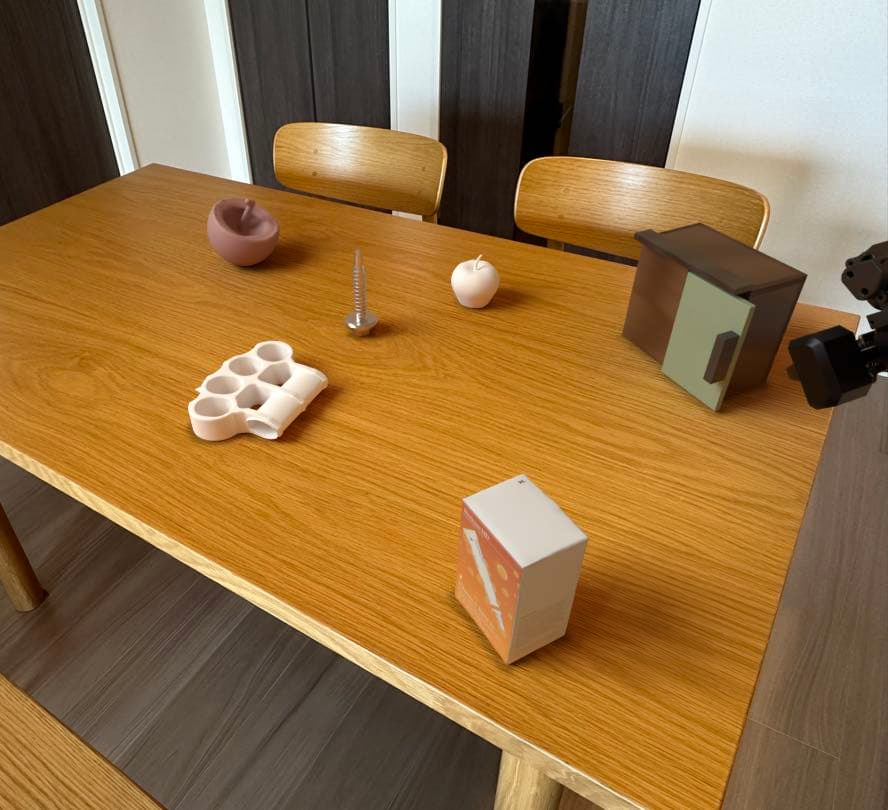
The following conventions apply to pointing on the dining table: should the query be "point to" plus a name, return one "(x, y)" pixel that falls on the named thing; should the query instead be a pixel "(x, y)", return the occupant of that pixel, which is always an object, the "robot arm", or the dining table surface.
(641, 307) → the cupboard
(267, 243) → the mortar and pestle
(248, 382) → the white brass knuckles
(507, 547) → the small box
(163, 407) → the dining table surface
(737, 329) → the sliding door
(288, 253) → the dining table surface
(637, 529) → the dining table surface
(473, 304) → the apple
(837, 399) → the robot arm
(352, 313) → the screw
